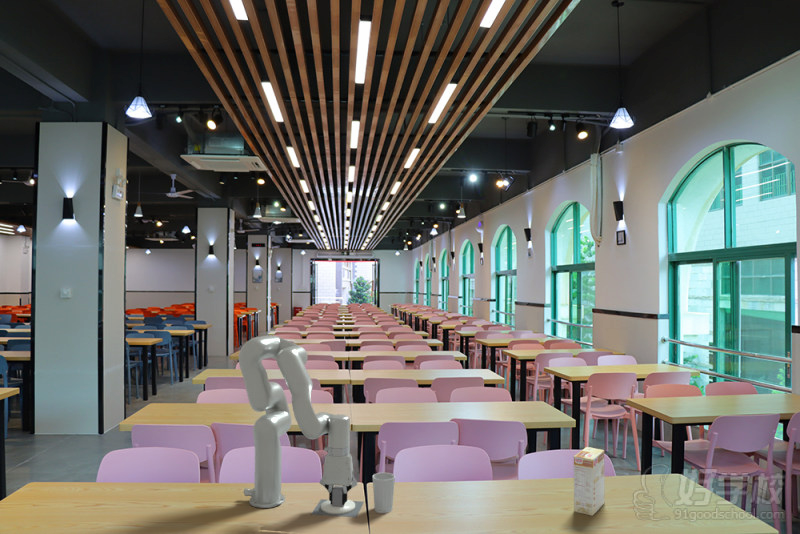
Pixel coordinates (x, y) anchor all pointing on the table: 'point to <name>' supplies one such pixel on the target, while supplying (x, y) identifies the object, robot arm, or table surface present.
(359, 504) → the mat
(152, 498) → the table surface
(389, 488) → the cup
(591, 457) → the coffeecake box
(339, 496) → the lid
